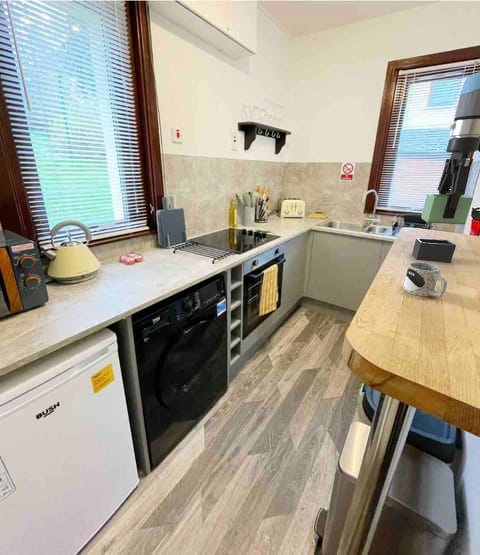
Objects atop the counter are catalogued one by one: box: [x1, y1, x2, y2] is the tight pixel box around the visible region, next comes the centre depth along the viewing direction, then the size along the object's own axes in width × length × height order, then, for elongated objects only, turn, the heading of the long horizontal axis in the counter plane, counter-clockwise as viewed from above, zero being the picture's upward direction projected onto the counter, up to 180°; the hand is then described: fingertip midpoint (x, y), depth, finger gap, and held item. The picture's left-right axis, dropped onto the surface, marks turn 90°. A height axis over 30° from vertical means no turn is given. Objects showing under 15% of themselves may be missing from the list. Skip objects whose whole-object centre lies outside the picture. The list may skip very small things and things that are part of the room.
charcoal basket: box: [411, 237, 457, 264], centre depth 93 cm, size 10×6×6 cm, turn 72°
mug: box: [402, 261, 448, 298], centre depth 68 cm, size 10×7×7 cm, turn 14°
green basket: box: [420, 193, 473, 225], centre depth 88 cm, size 10×8×8 cm
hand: (443, 215), depth 89 cm, fingers closed on green basket, 8 cm apart
